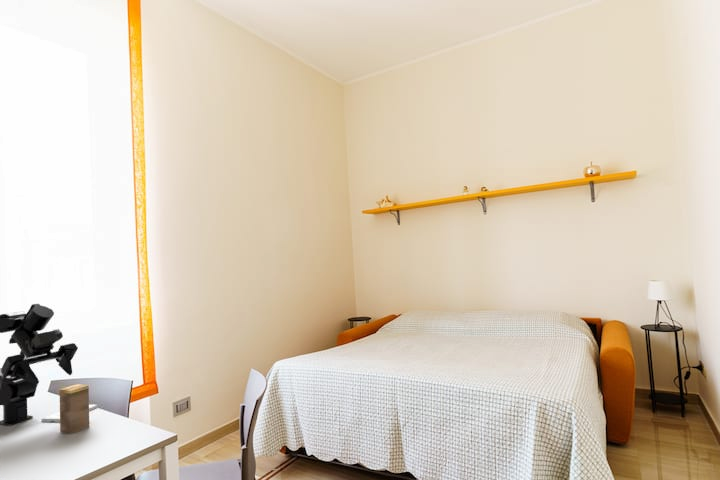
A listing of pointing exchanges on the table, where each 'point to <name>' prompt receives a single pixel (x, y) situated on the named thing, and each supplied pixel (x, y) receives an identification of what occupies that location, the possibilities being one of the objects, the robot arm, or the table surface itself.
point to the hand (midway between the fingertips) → (55, 378)
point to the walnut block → (74, 408)
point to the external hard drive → (56, 416)
